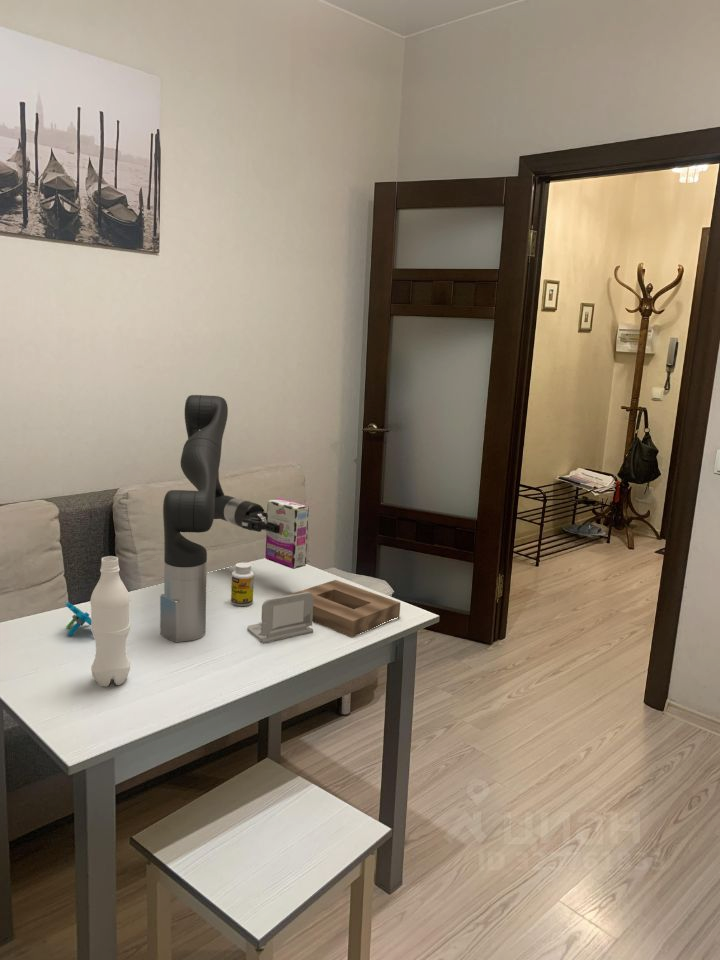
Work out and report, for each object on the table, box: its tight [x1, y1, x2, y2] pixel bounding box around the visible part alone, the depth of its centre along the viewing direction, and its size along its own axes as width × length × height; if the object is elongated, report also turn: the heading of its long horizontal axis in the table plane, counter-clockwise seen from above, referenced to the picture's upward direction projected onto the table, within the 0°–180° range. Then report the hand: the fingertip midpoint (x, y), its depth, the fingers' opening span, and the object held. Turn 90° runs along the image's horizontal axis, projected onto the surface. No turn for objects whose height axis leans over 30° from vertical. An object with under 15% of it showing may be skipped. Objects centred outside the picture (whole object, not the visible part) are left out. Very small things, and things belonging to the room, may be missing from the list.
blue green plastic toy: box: [65, 601, 91, 637], centre depth 164 cm, size 11×6×10 cm
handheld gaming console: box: [246, 592, 314, 644], centre depth 171 cm, size 13×9×10 cm
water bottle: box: [89, 555, 131, 688], centre depth 142 cm, size 7×7×25 cm
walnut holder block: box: [286, 579, 401, 638], centre depth 184 cm, size 18×22×4 cm
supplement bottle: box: [230, 562, 255, 607], centre depth 187 cm, size 6×6×10 cm
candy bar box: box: [265, 497, 310, 570], centre depth 195 cm, size 11×5×16 cm, turn 49°
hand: (286, 527), depth 195 cm, fingers closed on candy bar box, 5 cm apart
